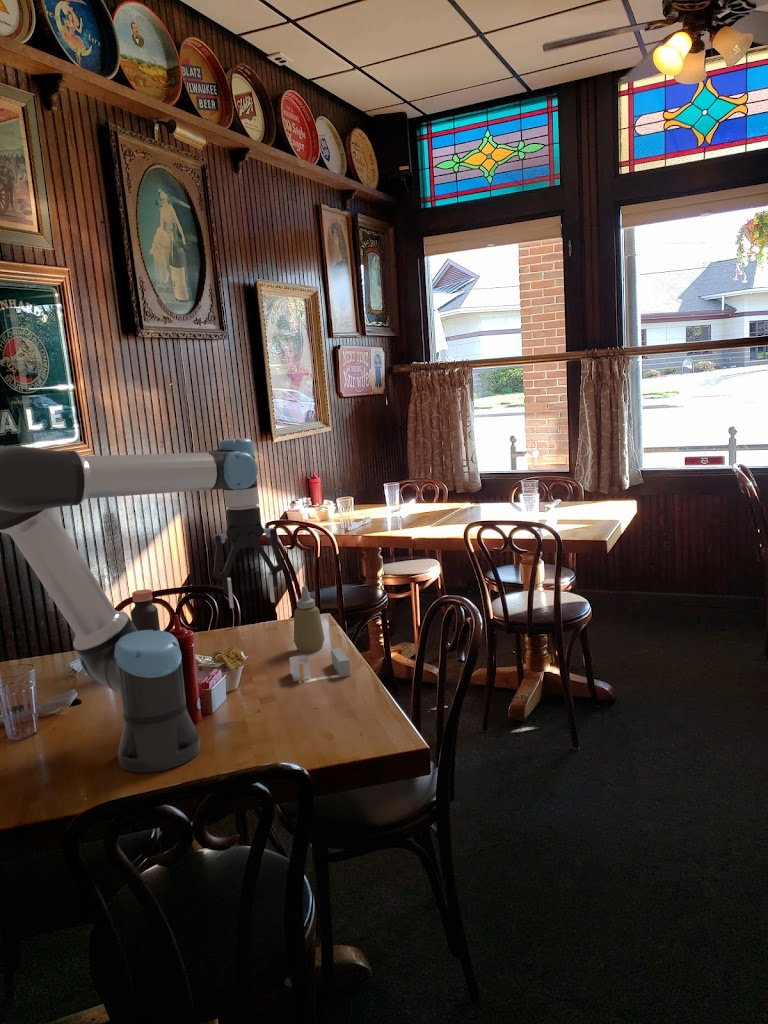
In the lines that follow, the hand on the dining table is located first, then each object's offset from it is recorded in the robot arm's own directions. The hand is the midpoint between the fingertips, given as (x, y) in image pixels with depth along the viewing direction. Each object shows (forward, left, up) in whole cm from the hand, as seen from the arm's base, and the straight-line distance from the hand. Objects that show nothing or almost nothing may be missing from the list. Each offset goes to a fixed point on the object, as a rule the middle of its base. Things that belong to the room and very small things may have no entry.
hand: (252, 603), depth 175 cm
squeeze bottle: (+20, -15, -21) cm, 32 cm away
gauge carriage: (0, -9, -19) cm, 21 cm away
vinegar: (+30, +26, -21) cm, 45 cm away
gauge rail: (0, -13, -20) cm, 24 cm away
